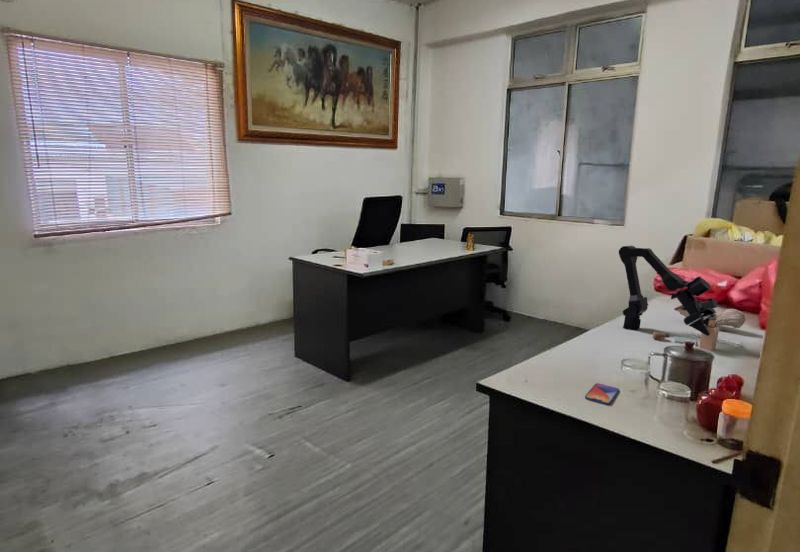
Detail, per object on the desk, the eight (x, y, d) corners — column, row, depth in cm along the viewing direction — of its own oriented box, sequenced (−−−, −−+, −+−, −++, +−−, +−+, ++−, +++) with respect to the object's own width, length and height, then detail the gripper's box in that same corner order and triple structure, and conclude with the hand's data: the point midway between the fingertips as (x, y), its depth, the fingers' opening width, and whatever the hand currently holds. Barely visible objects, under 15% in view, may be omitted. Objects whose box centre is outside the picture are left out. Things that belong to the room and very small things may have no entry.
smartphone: (619, 391, 158) (620, 388, 158) (609, 407, 146) (609, 403, 146) (595, 385, 162) (596, 382, 162) (583, 399, 150) (584, 396, 150)
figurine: (672, 327, 251) (740, 339, 228) (671, 306, 247) (740, 316, 224) (681, 317, 258) (749, 328, 235) (680, 297, 254) (749, 306, 231)
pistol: (746, 343, 218) (739, 348, 211) (697, 332, 233) (688, 336, 225) (747, 338, 218) (740, 343, 210) (698, 327, 232) (689, 331, 225)
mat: (674, 342, 213) (675, 340, 212) (674, 337, 220) (674, 336, 220) (696, 346, 209) (696, 344, 209) (694, 341, 216) (694, 339, 216)
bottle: (699, 347, 207) (704, 316, 204) (703, 346, 210) (708, 315, 207) (711, 351, 203) (716, 319, 201) (715, 349, 206) (721, 317, 204)
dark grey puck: (654, 335, 221) (654, 335, 221) (654, 332, 227) (654, 331, 227) (669, 338, 219) (669, 337, 219) (668, 334, 224) (668, 334, 224)
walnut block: (654, 340, 215) (655, 333, 214) (652, 337, 219) (653, 331, 218) (664, 341, 214) (665, 335, 213) (662, 339, 217) (663, 332, 217)
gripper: (696, 294, 200) (722, 327, 193) (714, 289, 211) (739, 320, 205) (673, 308, 207) (697, 340, 201) (692, 303, 219) (715, 333, 212)
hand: (713, 333), depth 204 cm, fingers open, 9 cm apart
